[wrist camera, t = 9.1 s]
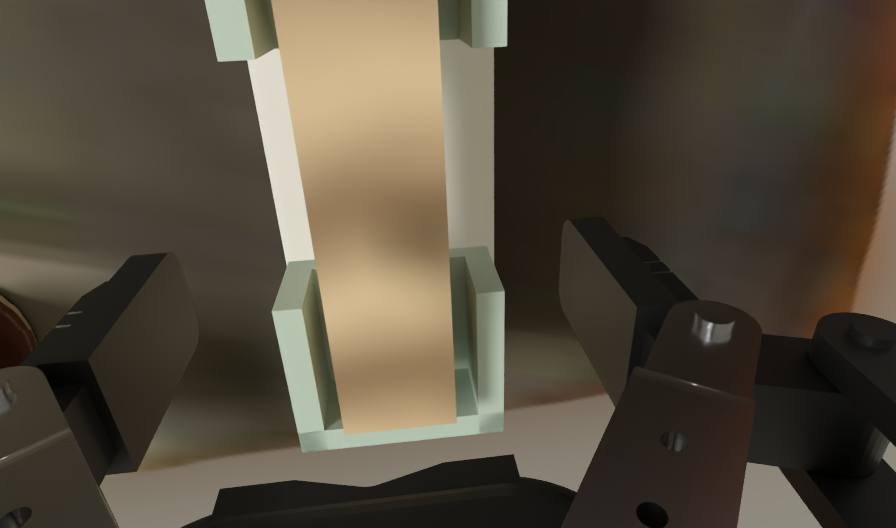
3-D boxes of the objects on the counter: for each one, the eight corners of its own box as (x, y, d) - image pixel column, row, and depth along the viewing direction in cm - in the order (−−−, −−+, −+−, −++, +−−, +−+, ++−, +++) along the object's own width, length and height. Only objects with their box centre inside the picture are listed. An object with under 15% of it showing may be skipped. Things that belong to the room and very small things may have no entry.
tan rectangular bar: (279, -125, 16) (243, -162, 12) (418, -129, 16) (430, -167, 12) (351, 358, 23) (344, 434, 19) (444, 349, 24) (456, 423, 20)
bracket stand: (213, -158, 20) (102, -252, 12) (488, -164, 21) (552, -256, 13) (304, 330, 29) (276, 455, 21) (490, 313, 30) (527, 428, 22)
